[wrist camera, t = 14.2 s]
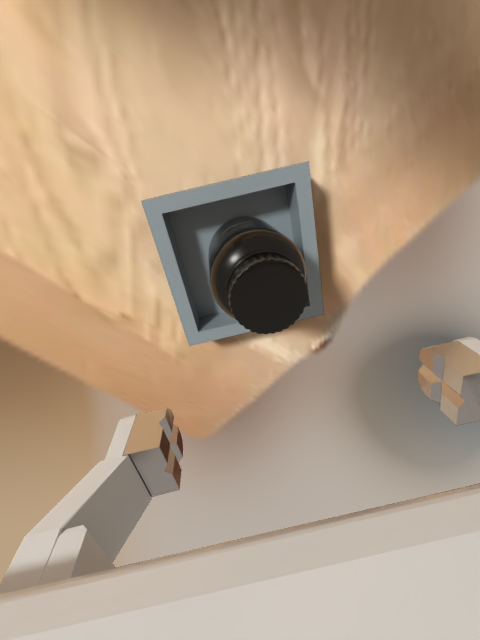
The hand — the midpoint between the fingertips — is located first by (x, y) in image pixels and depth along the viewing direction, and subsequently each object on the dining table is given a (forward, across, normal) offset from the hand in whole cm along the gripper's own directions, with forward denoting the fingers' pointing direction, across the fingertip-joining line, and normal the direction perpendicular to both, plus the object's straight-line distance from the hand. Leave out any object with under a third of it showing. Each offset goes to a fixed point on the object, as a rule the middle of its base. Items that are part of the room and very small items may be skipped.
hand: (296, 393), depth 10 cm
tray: (+21, 0, 0) cm, 21 cm away
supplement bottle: (+21, -1, 0) cm, 21 cm away
